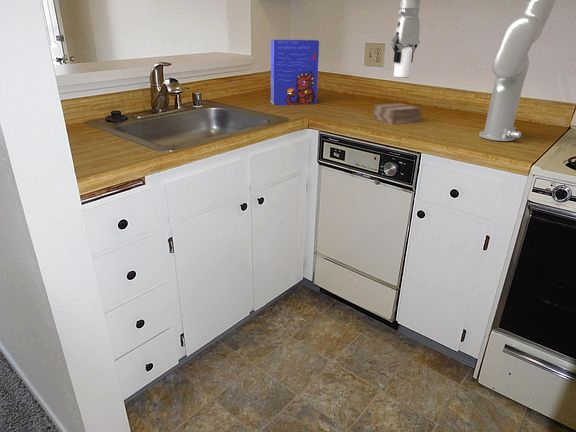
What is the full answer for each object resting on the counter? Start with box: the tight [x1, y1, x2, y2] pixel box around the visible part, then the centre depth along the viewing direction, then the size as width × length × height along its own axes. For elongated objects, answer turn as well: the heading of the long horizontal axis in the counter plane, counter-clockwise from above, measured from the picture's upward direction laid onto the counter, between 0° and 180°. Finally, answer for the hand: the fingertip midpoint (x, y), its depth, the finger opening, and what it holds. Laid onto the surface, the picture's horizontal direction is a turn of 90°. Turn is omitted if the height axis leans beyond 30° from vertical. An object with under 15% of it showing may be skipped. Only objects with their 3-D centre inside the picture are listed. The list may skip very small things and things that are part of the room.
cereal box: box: [270, 39, 320, 106], centre depth 210 cm, size 22×6×30 cm, turn 105°
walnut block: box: [372, 102, 422, 125], centre depth 187 cm, size 14×14×6 cm
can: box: [393, 45, 412, 79], centre depth 178 cm, size 6×6×12 cm
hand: (402, 61), depth 178 cm, fingers closed on can, 6 cm apart
